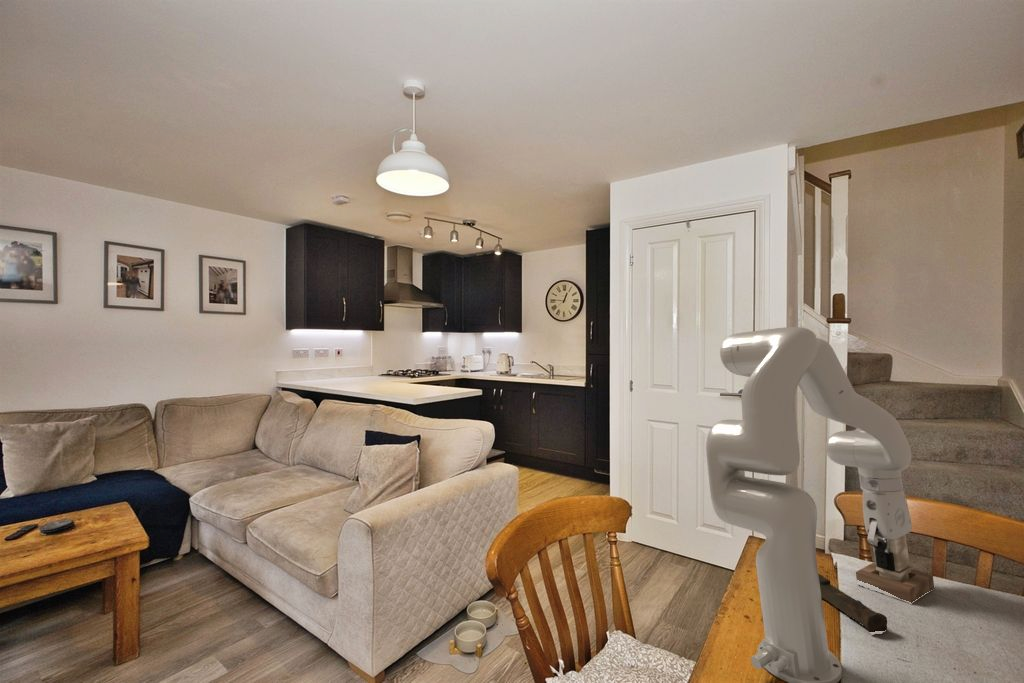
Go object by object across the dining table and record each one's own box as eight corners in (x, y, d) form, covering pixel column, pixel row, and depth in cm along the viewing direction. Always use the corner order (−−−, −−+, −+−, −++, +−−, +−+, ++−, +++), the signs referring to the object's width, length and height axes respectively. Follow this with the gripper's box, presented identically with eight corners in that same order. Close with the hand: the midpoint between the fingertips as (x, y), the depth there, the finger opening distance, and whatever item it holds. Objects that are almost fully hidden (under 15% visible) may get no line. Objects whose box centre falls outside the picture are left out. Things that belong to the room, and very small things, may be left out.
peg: (901, 587, 97) (893, 531, 98) (877, 579, 101) (869, 525, 102) (912, 581, 99) (904, 525, 100) (887, 573, 104) (880, 520, 104)
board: (911, 604, 94) (909, 589, 94) (857, 585, 103) (855, 571, 103) (934, 589, 98) (932, 575, 98) (880, 572, 107) (879, 559, 107)
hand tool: (891, 635, 85) (887, 610, 85) (870, 637, 85) (867, 612, 85) (819, 586, 104) (817, 566, 104) (803, 588, 104) (800, 568, 104)
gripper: (880, 494, 94) (892, 583, 93) (919, 478, 102) (932, 560, 101) (840, 487, 101) (852, 570, 100) (881, 472, 109) (892, 549, 108)
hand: (892, 564), depth 101 cm, fingers closed on peg, 4 cm apart
